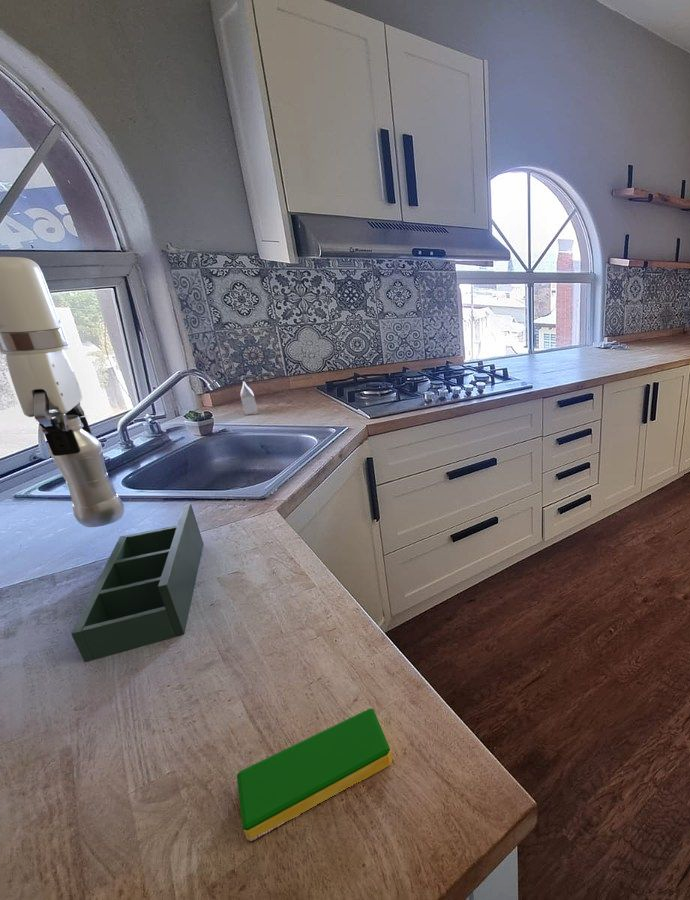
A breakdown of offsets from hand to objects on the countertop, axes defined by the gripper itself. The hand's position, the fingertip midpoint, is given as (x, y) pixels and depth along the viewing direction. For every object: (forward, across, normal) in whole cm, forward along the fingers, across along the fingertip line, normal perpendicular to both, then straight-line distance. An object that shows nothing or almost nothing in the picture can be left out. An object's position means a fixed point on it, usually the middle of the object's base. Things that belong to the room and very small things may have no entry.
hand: (74, 445), depth 85 cm
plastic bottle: (+15, 0, 0) cm, 15 cm away
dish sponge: (+22, +66, +29) cm, 75 cm away
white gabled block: (+22, -87, +19) cm, 92 cm away
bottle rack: (+21, +18, +8) cm, 29 cm away
